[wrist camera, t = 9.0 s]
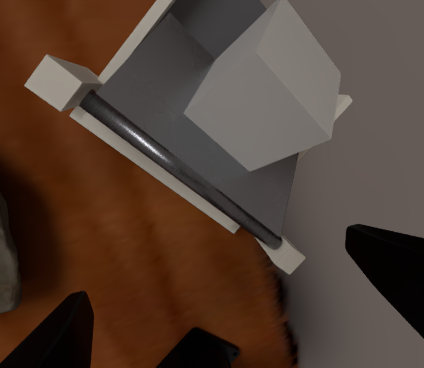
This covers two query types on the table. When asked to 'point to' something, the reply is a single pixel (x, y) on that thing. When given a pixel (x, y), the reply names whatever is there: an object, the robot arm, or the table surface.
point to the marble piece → (8, 264)
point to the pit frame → (86, 80)
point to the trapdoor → (188, 131)
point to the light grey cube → (269, 91)
